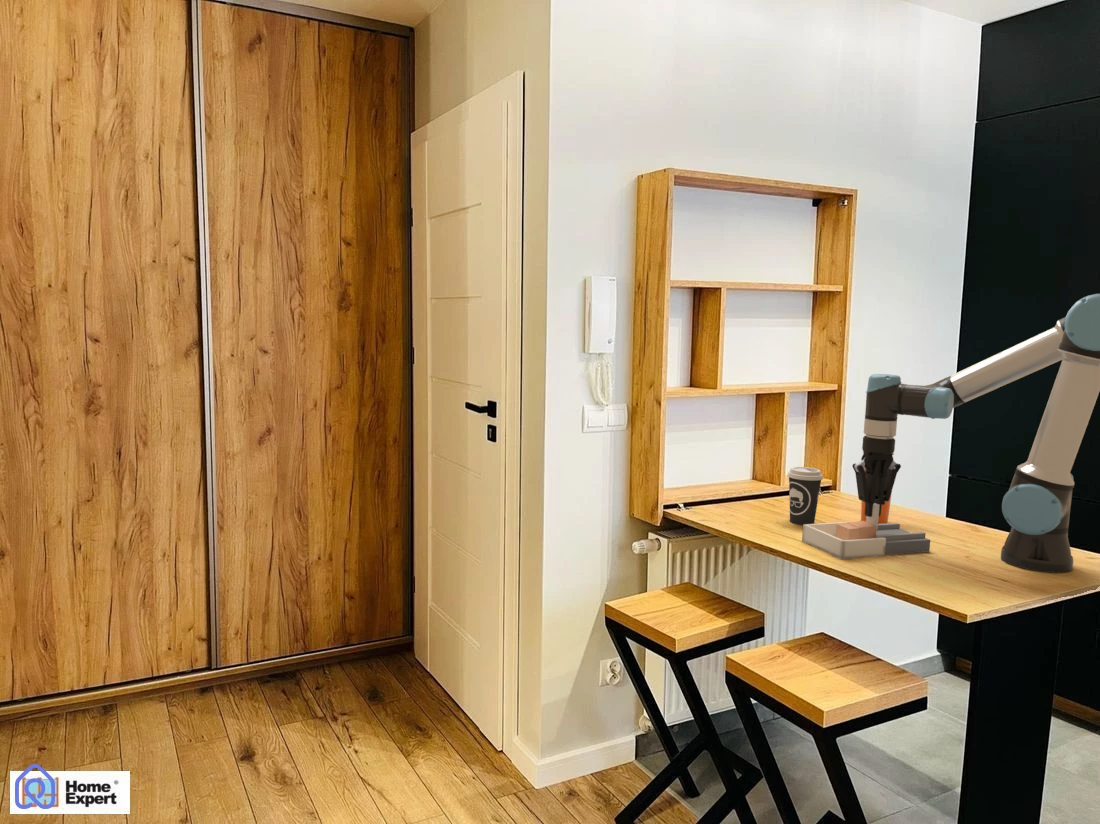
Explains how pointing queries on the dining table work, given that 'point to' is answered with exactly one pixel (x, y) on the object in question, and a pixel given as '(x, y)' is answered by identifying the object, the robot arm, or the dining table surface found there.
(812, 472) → the coffee cup
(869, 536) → the tile
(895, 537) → the grey railed fixture
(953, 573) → the dining table surface
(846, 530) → the tile
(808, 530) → the tray
